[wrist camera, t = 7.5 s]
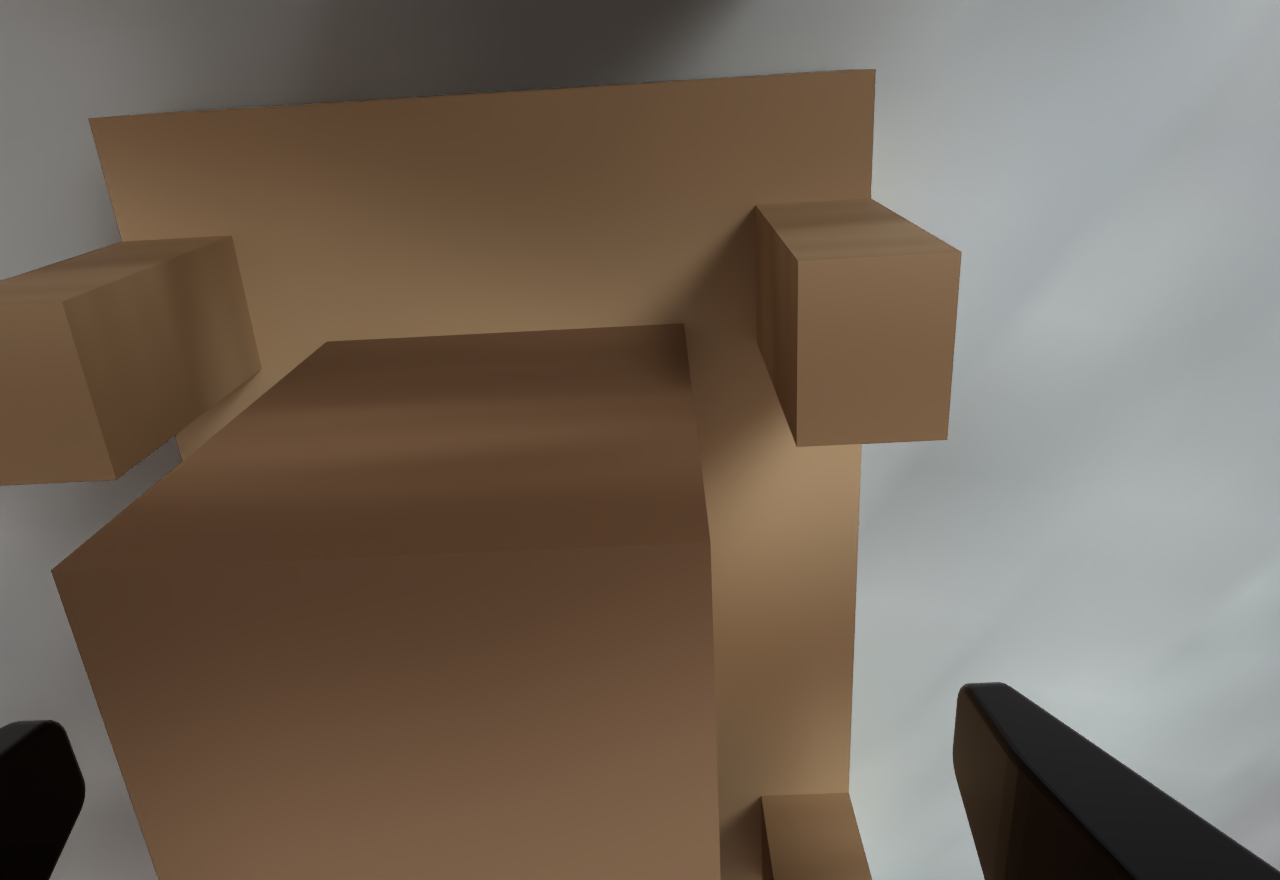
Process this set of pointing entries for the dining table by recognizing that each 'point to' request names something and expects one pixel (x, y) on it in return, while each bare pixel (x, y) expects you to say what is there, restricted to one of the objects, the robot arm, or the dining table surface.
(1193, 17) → the dining table surface
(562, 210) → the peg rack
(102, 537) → the walnut bar
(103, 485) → the dining table surface
